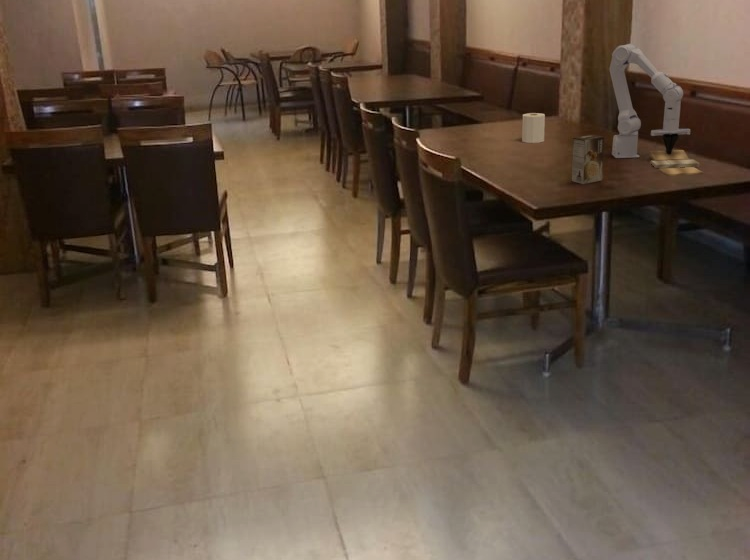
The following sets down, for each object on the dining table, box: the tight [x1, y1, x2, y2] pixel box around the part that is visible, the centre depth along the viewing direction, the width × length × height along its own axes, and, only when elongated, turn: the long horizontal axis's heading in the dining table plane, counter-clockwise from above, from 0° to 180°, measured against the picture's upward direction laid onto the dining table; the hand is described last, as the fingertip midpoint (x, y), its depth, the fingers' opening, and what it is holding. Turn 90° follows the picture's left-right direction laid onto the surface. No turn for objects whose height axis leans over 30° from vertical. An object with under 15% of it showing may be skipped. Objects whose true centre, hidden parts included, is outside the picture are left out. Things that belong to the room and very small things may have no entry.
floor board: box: [650, 158, 700, 169], centre depth 294 cm, size 16×8×2 cm, turn 86°
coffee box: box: [571, 134, 605, 185], centre depth 275 cm, size 9×6×16 cm
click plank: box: [649, 149, 690, 160], centre depth 302 cm, size 13×9×1 cm
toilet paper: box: [521, 112, 546, 144], centre depth 351 cm, size 10×10×12 cm
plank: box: [658, 167, 704, 177], centre depth 284 cm, size 13×9×1 cm
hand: (668, 153), depth 303 cm, fingers closed, pressing on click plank
